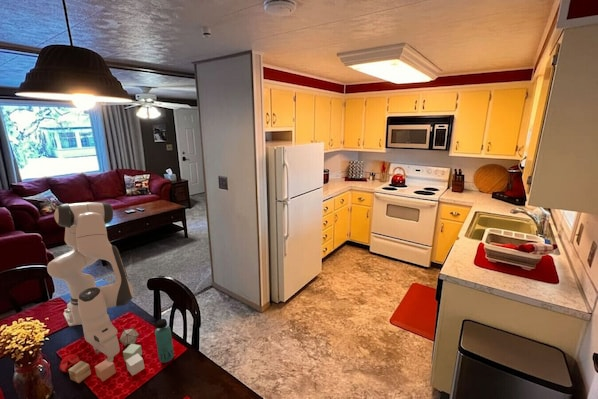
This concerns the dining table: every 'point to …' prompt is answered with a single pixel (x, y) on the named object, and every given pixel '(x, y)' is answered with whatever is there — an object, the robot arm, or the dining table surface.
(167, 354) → the beverage bottle
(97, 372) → the block terracotta
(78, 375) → the block oak
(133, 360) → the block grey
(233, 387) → the dining table surface
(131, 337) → the game die
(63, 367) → the cap
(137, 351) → the block sage
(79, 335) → the dining table surface
